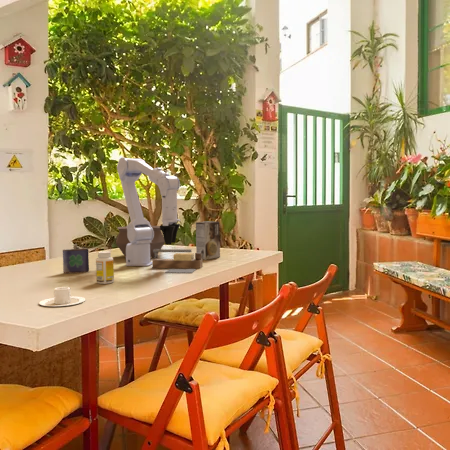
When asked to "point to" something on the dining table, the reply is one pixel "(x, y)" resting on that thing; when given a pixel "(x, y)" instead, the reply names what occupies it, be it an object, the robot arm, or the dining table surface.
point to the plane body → (178, 263)
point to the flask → (75, 260)
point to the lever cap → (183, 256)
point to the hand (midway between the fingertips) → (170, 243)
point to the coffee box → (208, 239)
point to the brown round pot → (155, 243)
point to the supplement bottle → (104, 268)
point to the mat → (180, 271)
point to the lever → (169, 251)
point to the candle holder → (62, 297)
